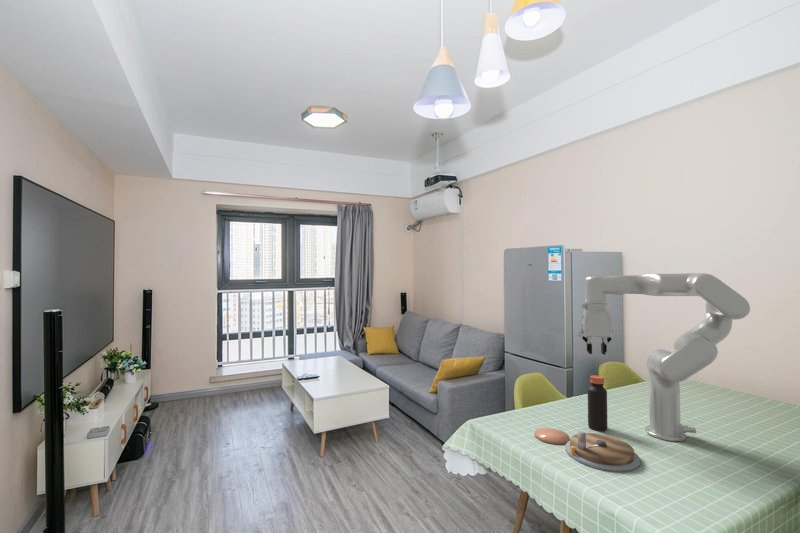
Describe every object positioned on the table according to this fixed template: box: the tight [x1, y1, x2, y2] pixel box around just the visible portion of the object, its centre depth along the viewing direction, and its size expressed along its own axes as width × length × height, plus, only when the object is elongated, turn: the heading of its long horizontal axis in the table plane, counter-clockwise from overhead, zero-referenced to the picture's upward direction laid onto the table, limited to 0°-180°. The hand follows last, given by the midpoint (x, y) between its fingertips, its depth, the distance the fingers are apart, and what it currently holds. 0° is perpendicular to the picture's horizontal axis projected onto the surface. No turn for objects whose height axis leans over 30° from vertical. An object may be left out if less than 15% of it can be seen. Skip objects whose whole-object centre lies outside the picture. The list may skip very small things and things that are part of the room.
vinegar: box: [587, 375, 608, 432], centre depth 150 cm, size 7×7×20 cm
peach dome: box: [534, 427, 570, 445], centre depth 141 cm, size 12×12×1 cm
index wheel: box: [569, 431, 635, 465], centre depth 127 cm, size 19×19×7 cm
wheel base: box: [565, 440, 641, 473], centre depth 127 cm, size 22×22×3 cm
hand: (596, 353), depth 150 cm, fingers open, 4 cm apart
